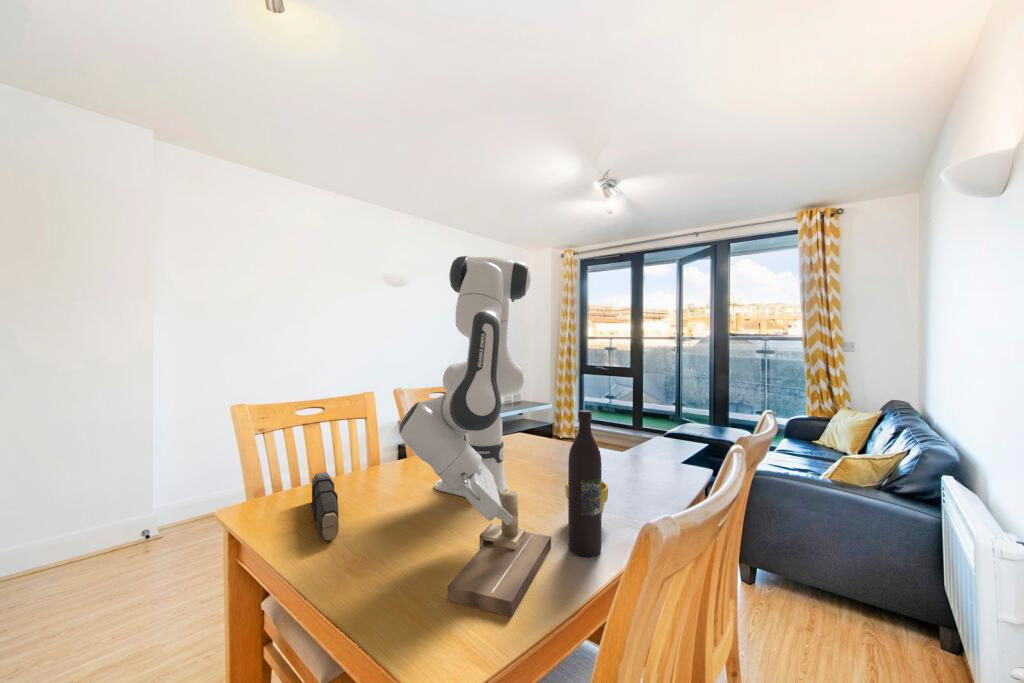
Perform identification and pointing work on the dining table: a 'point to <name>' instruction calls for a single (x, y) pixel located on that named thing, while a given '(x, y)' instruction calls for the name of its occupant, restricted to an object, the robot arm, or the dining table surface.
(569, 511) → the wine bottle
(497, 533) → the beige peg stand
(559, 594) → the dining table surface
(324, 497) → the dark grey segmented bar
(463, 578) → the board
